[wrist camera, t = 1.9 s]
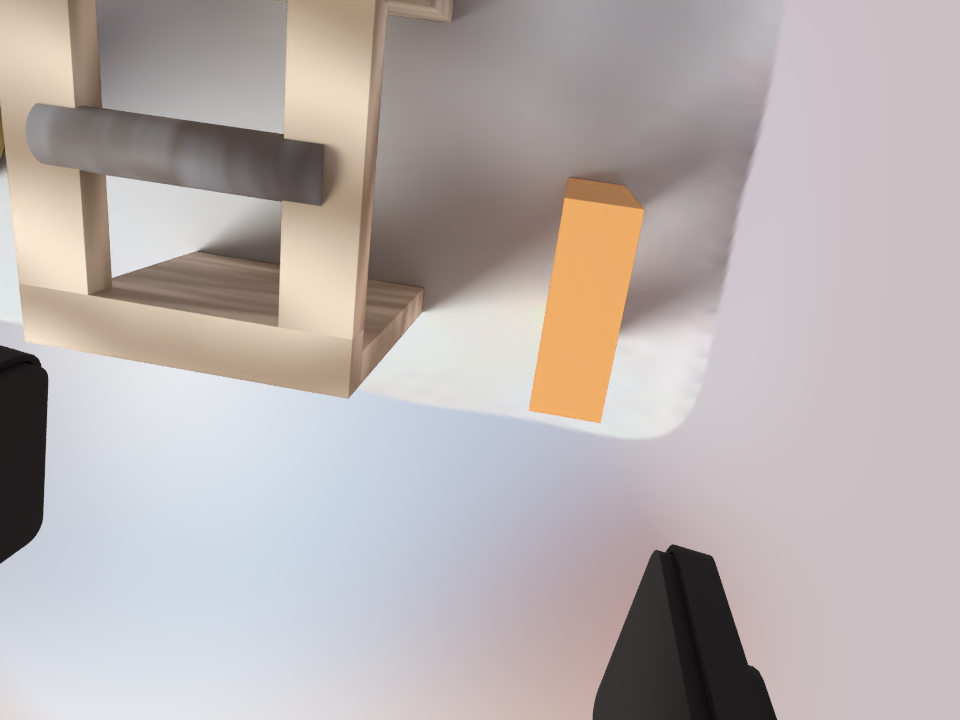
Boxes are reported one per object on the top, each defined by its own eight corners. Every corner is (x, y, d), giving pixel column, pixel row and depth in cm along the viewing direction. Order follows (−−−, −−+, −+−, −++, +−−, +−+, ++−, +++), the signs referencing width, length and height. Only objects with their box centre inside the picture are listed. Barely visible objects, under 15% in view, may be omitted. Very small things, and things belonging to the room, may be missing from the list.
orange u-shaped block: (568, 177, 36) (564, 197, 25) (625, 185, 36) (644, 209, 25) (542, 333, 39) (528, 410, 28) (594, 341, 39) (600, 423, 28)
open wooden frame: (191, -43, 35) (-44, -147, 22) (454, -11, 34) (375, -101, 21) (196, 275, 41) (11, 346, 28) (421, 312, 40) (342, 405, 26)
